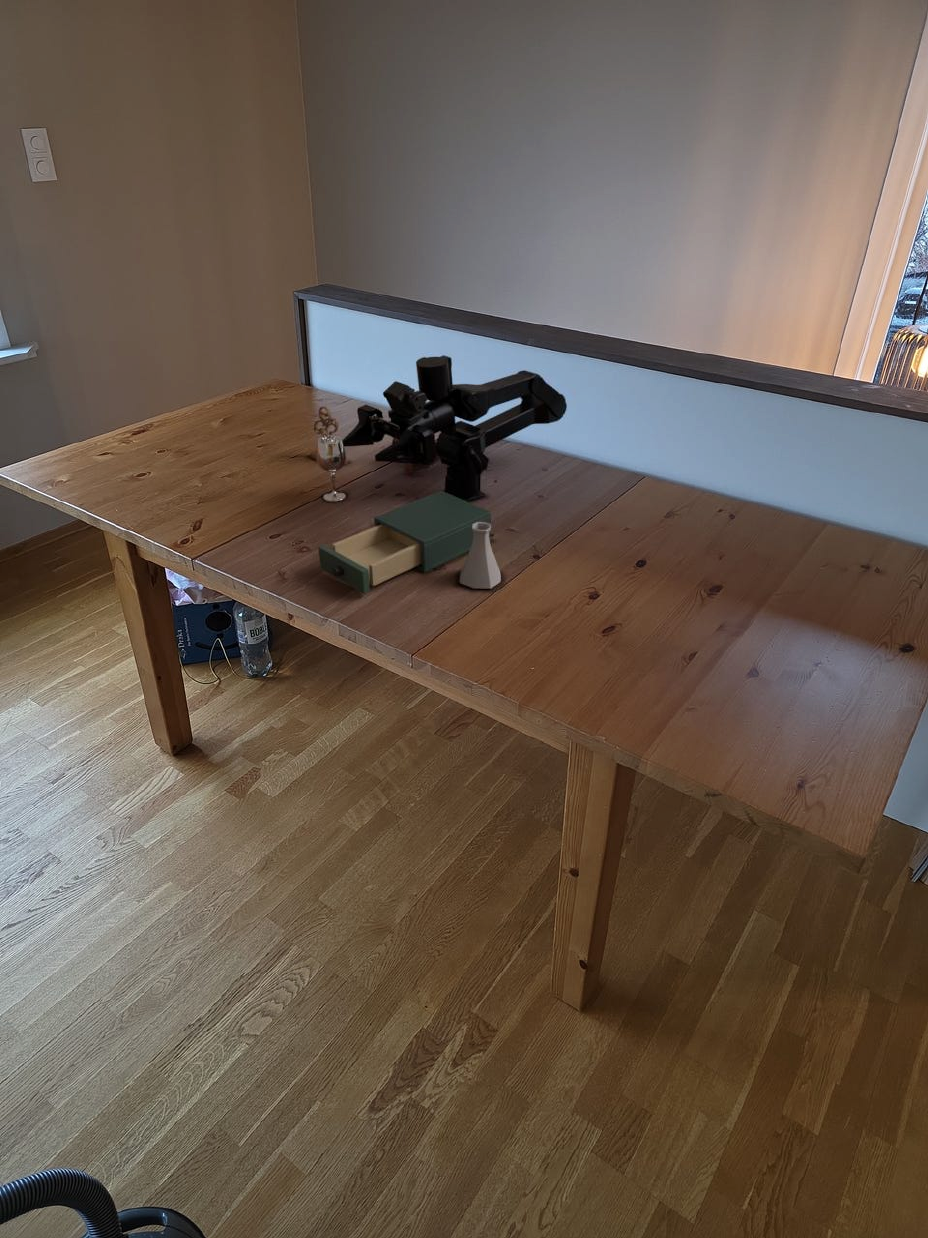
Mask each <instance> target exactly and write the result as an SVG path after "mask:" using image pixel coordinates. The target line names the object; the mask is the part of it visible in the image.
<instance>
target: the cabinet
mask: <svg viewBox="0 0 928 1238" xmlns="http://www.w3.org/2000/svg"><path fill="white" fill-rule="evenodd" d="M373 520H374V527H375V526H377V525H380V524H382V525H384V526H386V527H388V528H390V529H392V530H394V531H396V532H398V533H400V534H402V535H404V536H406V537H408V538H410V539H412V540H414V541H416V542H418V543H420V544H422V545H421V546H422V564H420V565H418V566H415V567H414V568H415V569H416V570H419V571H421V572H423V573H426V572H429V571H431V570H433V569H435V568H438V567H439V566H441V565H444V564H446V563H448V562H450V561H452V560H454V559H456V558H458V557H461V556H462V555H464V554H467V553H469V551H470V548H471V546H472V541H473V536H474V532H473V531H472V525H473V524H474V523H476V522H486V523H488V524H491V525H492V512H491V511H489V510H487V509H486V508H483V507H480V506H478V505H476V504H474V503H471V502H470V501H468V502H467V501H464V500H462V499H460V498H457V497H455V496H453V495H450V494H448V493H446V492H443V490H439V491H436V492H434V493H432V494H428V495H426V496H424V497H421V498H419V499H417V500H414V501H412V502H409V503H407V504H404V505H402V506H399V507H397V508H395V509H392V510H389V511H387V512H384V513H381V514H380V515H377V516H374V519H373ZM491 530H492V529H491ZM491 530H490V531H489V540H490V541H491Z"/></svg>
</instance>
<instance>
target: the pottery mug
mask: <svg viewBox="0 0 928 1238" xmlns="http://www.w3.org/2000/svg"><path fill="white" fill-rule="evenodd" d="M393 443H394V440H393V439H392V441H391V445H392V444H393ZM435 443H436V441H435ZM438 461H440V458H439V456H438V455H437V456H436V458H435V460H434V462H432V463H430V464H428V465H426V466H425V465H423V464H418V465H417V464H412V463H404V467H403V470H404V472H405V473H406V474H407V475H411V474H412V473H413V472H419V471H423V470H426V469H430V468H431V466H434V465H435V464H436V462H438Z"/></svg>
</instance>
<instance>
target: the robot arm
mask: <svg viewBox="0 0 928 1238" xmlns="http://www.w3.org/2000/svg"><path fill="white" fill-rule="evenodd" d="M415 366H416V375H417V377H416V378H417V384H418V390H415V389H414V388H412V387H411V386H410V385H408V384H406V383H403V382H400V381H397V380H396V381H394V382H393V383H391V384H390V385H389V386H388V387H387V388H386V389H385V390H384V391H383V392H382V396H383V398H385V400H386V402H387V404H388V405H389V408H390V410H388V411H387V415H388V418H389V419H390V420H388V419H385V418H384V415H383V411H382V410H380V409H379V408H378V407H375V406H371V405H368V404H364V405H361V406H359V407H357V409H356V413H357V418H358V422H357V424H356V426H355V427H354V428H353V429H352V430H351V431H350V432H349V433H348V434H347V435H346V436H345V437H344V438H343V439H342V443H343V446H344V448H345V447H346V448H347V447H348V448H349V447H360V446H373V445H375V443H380V442H382V441H383V439H384V437H385V435H386V436H389V437H391V438H392V441H393V440H394V443H393V444H392V443H391V444H390V445H389V446H386V447H385V448H383V449H381V450H380V451H378V452H377V453H376V454H375V455H374V461H375V462H383V463H402V464H406V463H412V464H417V465H418V464H423V465H425V466H426V465H428V464H430V463H432V462H434V460H435V458H436V456H437V455H438V456H439V458H440V460H439V461H440V464H442V465H445V466H446V474H445V476H444V489H443V490H442V491H443V492H446V493H448V494H450V495H453V496H455V497H457V498H460V499H462V500H464V501H467V502H472V501H474V500H478V499H481V498H485V497H486V494H485V493H484V492H483V491H481V481H482V480H481V479H482V477H481V476H482V474H483V472H484V471H486V470H487V469H488V466H489V462H490V459H489V457H488V456H486V454H485V450H486V449H487V448H489V447H490V446H491V447H492V445H495V444H496V443H499V442H500V441H502V440H504V439H506V438H508V437H510V436H512V435H515V434H517V433H518V432H520V431H522V430H524V429H526V428H528V427H530V426H532V425H548V424H551V423H555V422H559V421H560V420H561V419H562V418H563V417H564V415H566V412H567V407H568V405H567V402H566V397H565V395H564V394H563V393H560V392H559V391H558V390H556V389H555V388H554V387H552V386H551V385H550V384H549V383H547V382H546V381H545V379H544V378H543V377H542V376H541V375H540V374H538V373H535V372H533V371H529V370H525V369H524V370H519V371H518V372H516V373H514V374H511V375H507V376H504V377H500V378H498V379H494V380H491V381H487V382H484V383H481V384H471V383H456V384H455V383H454V382H453V371H452V367H453V362H452V357H451V356H447V355H445V354H443V355H441V356H427V357H426V356H423V357H420V358H418V359H417V360H416V361H415ZM517 399H520V400H521V402H520V403H519V404H517V405H514V406H513V407H510V408H509V409H507V410H505V411H503V412H500V413H499V414H497V415H494V416H492V417H489V418H488V419H486V420H484V421H482V422H479V423H478V424H476V425H474V424H470V423H473V422H476V421H477V420H479V419H481V418H483V417H484V416H486V415H487V414H488V413H489V411H490V409H491V408H493V407H496V406H498V405H502V404H505V403H508V402H511V401H514V400H517ZM456 418H458V419H461V420H459V421H456ZM463 420H464V421H463ZM439 432H440V433H439ZM436 433H439V434H438V437H437V438H436V435H435V434H436ZM435 442H436V443H435Z"/></svg>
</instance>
